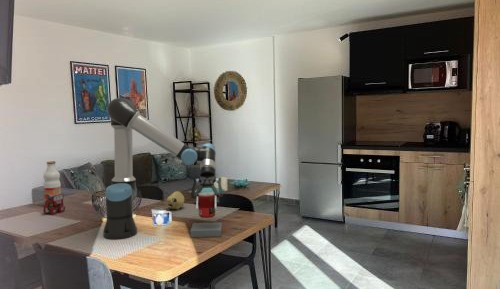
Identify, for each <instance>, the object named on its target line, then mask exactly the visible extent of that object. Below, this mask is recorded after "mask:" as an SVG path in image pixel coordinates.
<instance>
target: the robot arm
mask: <svg viewBox="0 0 500 289" xmlns="http://www.w3.org/2000/svg"><path fill="white" fill-rule="evenodd" d="M106 112H107V115H108V117H109V118H110V126H111V128H113V130H114V131H113V133H114V135H113V137H114V138H113V139H114V140H113V141H114V176H113V178H112V179H111V185H109V186H107V187H106V189H105V193H104V194H105V195H104V196H105V208H106V209H105V211H106V212H105V213H106V221H105V223H104V224H105V225H104V228H103V231H102V232H103V234H102V235H103V238H105V239H107V240H121V239H126V238H130V237H133V236H135V235H137V233H138V227H137V224H136V222H135V219H134V216H133V214H134V213H133V202H134V201H135V200H136V198H137V196H138V189H137V182H136V181H137V180H136V177H135V176H134V175H133V172H134V171H133V131H135V132H136V133H138V134H139V135H142V136H143V137H144V138H146V139H148V140H149V141H151V142H153V143H154V144H155V145H157V146H159V147H160V148H161V149H163V150H165V151H166V152H168V153H169V154H171V155H173V156H174V157H176V158H177V160H179V161H181V162H182V163H183V164H185V165H188V166H190V165H193V164H195V163H196V162H200V166H199V169H200V170H199V178H193V179H192V180H193V184H192V188H191V191H190V197H191V198H192V199H193V198H194V200H193V203H194V205H195V211H196V212H199V205H198V193H200V192H203V191H202V190H203V189H204V188H205V187H210V188H211V189H212V192H214V193H215V212H216V211H217V209H218V208H217V204H220V198H222V197H224V195H223V188H222V178H221V177H218V178H216V147H215V145H214V144H212V143H210V142H209V143H204V144H202V145H201V147H200V146H190V145H188V144H186V143H184V142H183V141H181V140H180V139H178V138H177V137H175V136H173V135H172V134H170V133H169V132H167V131H166V130H164V129H163V128H162V127H160V126H158V125H156V124H155V123H153V122H152V121H151V120H149V119H148V118H146V117H144V116H143V115H142V114H140V111H139V110H138V109H137V107H136V105H135V104H134V103H133V102H132V100H129V99H128V98H122V97H117V98H114V99H112V100H111V101H110V102H108V105H107V108H106ZM215 182H216V183H217V186H218V190H217V188H216V186H215ZM198 183H200V184H199V186H197V185H198ZM197 187H198V188H197ZM218 191H219V192H218Z"/></svg>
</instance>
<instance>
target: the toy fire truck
mask: <svg viewBox="0 0 500 289" xmlns="http://www.w3.org/2000/svg"><path fill="white" fill-rule="evenodd" d="M64 197H65V196H64V194H63V193H61V194H59V195H55V196H52V197H51V196H49V197H48V200H46V202H45V201H44V205H43V211H42V212H43V213H44V214H50V215H56V214H57V213H63V212H65V209H66V207H65V206H64Z"/></svg>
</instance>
